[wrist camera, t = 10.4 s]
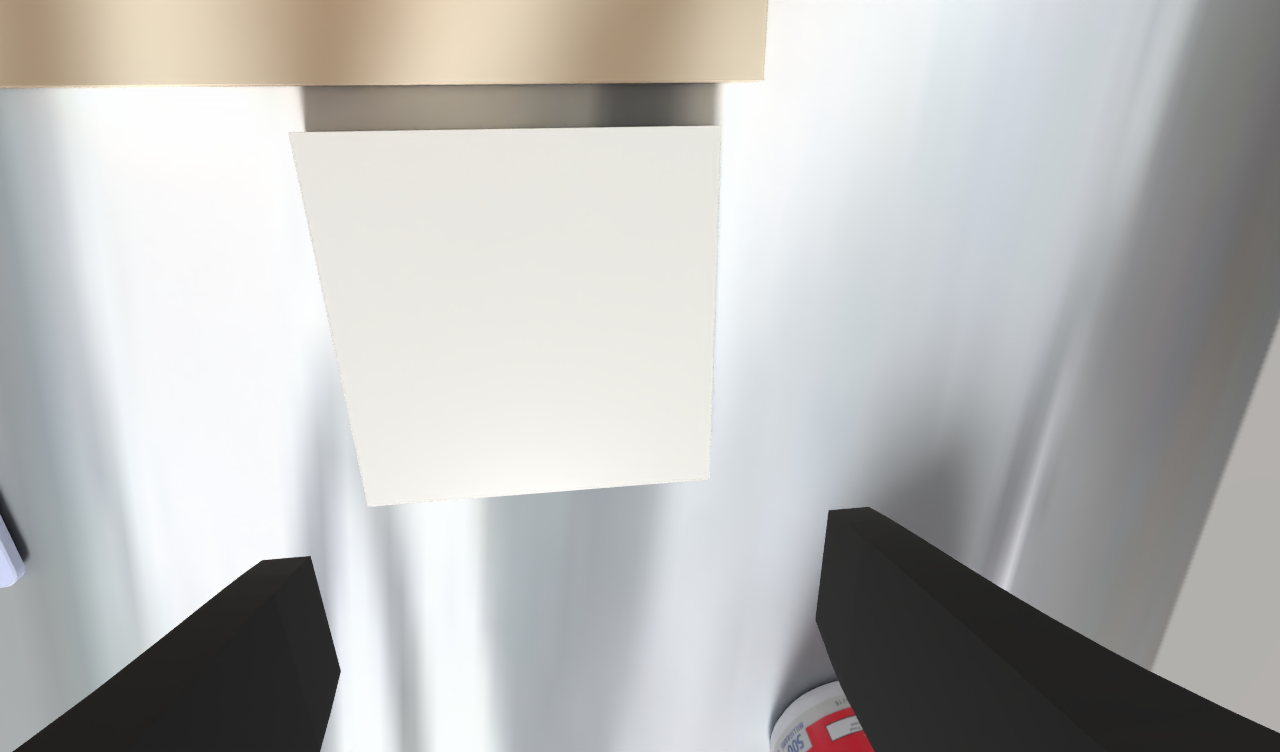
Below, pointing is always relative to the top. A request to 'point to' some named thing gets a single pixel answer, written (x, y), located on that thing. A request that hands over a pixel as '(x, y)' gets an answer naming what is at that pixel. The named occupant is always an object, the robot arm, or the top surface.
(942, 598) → the robot arm
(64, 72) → the beige flat block
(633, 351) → the white square plate
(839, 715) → the pill bottle
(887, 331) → the top surface
